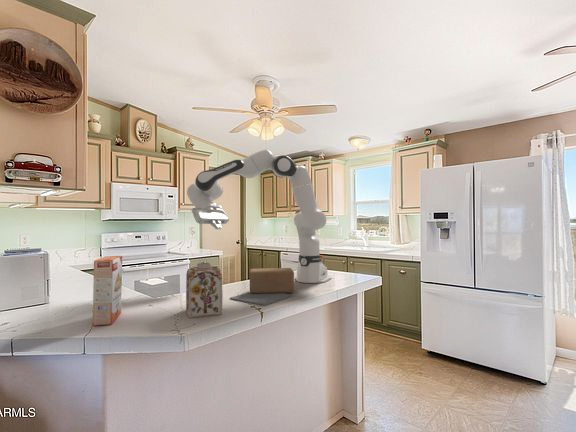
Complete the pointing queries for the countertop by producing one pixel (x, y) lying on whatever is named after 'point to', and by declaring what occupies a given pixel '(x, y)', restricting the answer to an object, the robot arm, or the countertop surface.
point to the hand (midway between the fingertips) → (219, 228)
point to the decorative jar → (203, 290)
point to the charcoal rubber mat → (261, 298)
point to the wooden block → (271, 280)
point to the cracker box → (107, 290)
